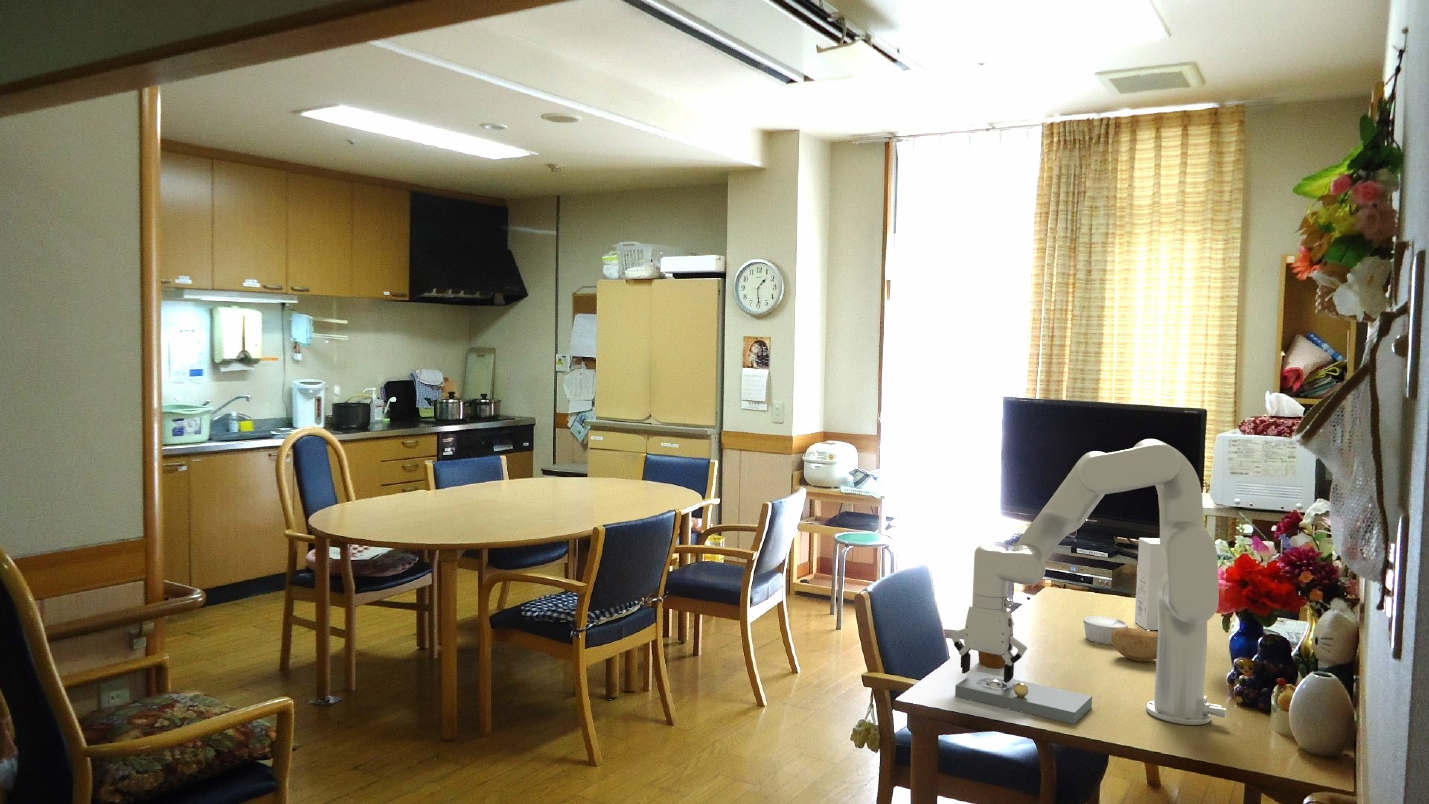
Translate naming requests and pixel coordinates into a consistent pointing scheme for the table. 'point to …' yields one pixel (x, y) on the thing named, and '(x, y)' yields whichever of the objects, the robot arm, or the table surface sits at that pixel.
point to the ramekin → (1101, 628)
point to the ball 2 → (1021, 690)
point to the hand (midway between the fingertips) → (986, 676)
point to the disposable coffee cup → (991, 659)
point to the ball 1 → (995, 684)
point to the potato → (1135, 643)
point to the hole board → (1026, 697)
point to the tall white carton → (1149, 582)
